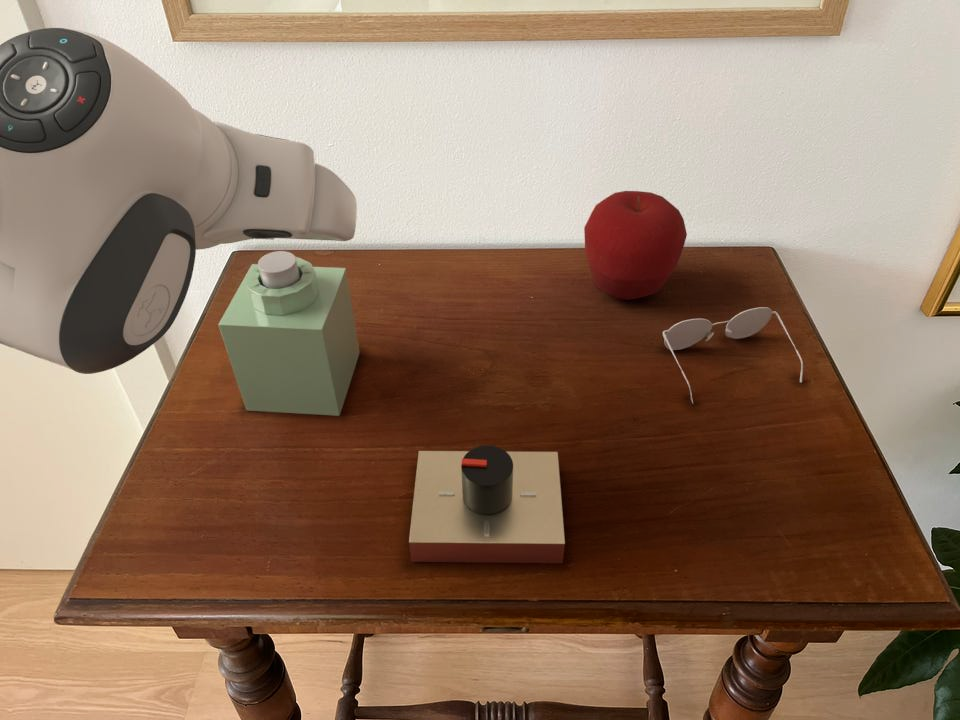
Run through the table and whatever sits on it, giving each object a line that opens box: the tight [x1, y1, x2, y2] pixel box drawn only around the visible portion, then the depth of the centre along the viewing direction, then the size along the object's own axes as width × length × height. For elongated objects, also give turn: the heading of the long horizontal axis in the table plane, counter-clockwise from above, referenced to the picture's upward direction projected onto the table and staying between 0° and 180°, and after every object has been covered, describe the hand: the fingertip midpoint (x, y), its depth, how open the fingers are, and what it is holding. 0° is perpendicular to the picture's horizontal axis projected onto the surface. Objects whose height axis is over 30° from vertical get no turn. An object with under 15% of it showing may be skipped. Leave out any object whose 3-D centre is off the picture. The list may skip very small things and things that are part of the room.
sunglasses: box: [662, 306, 804, 404], centre depth 79 cm, size 14×8×5 cm, turn 104°
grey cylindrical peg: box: [257, 250, 300, 289], centre depth 69 cm, size 4×4×2 cm
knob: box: [461, 445, 513, 514], centre depth 62 cm, size 4×4×4 cm
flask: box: [217, 256, 361, 417], centre depth 75 cm, size 10×10×14 cm
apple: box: [583, 190, 688, 301], centre depth 86 cm, size 12×12×13 cm
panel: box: [408, 450, 566, 564], centre depth 65 cm, size 10×13×3 cm
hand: (260, 230), depth 65 cm, fingers closed
